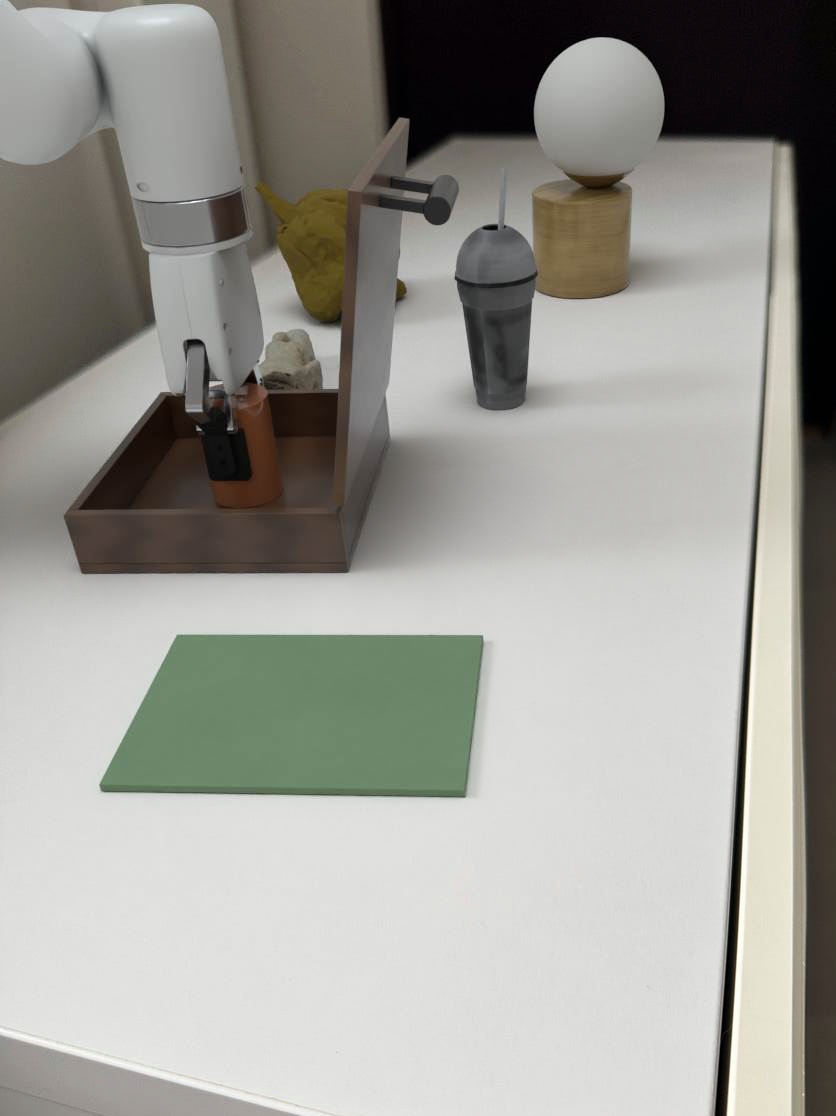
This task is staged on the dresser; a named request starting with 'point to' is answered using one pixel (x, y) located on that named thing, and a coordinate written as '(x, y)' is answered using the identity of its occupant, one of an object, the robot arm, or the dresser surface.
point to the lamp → (591, 164)
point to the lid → (375, 290)
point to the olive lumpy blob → (315, 247)
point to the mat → (305, 716)
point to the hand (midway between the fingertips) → (242, 457)
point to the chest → (212, 529)
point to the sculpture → (291, 363)
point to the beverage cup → (497, 308)
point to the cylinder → (252, 451)
